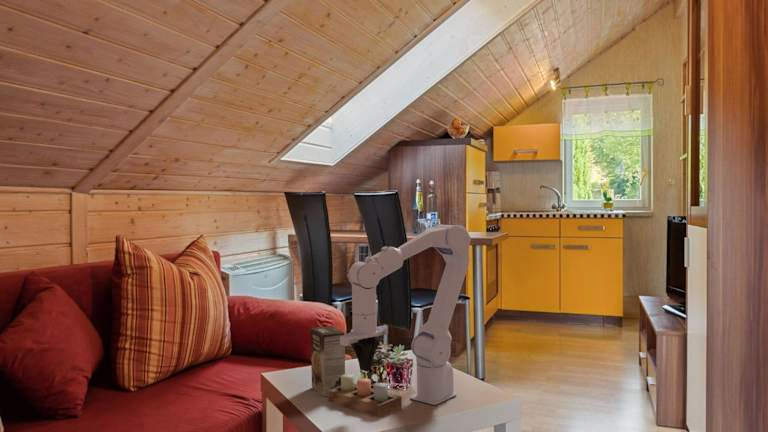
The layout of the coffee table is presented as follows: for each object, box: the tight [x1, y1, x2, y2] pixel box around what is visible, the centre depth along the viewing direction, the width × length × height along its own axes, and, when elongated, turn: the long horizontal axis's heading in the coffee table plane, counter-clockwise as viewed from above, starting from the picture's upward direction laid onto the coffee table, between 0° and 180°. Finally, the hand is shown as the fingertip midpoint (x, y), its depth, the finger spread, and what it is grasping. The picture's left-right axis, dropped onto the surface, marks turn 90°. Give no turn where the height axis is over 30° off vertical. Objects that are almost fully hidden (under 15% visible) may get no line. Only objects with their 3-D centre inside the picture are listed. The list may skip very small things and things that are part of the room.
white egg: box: [373, 382, 389, 403], centre depth 140 cm, size 3×3×4 cm
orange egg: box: [356, 377, 372, 398], centre depth 144 cm, size 3×3×4 cm
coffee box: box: [310, 325, 346, 398], centre depth 155 cm, size 9×6×16 cm
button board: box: [327, 383, 403, 418], centre depth 144 cm, size 17×8×3 cm, turn 48°
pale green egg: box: [341, 373, 356, 393], centre depth 147 cm, size 3×3×4 cm
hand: (365, 370), depth 139 cm, fingers closed
